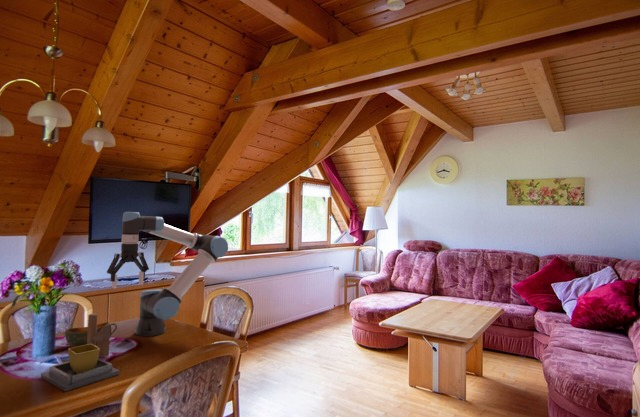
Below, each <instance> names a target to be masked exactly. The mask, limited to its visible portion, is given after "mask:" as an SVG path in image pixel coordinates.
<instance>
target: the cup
mask: <svg viewBox="0 0 640 417" xmlns="http://www.w3.org/2000/svg"><path fill="white" fill-rule="evenodd" d="M109 324H110V337H112V335H113V334H114V333H115V332H116V331H117V328H118V324H117V323H115V322H112V323H110V322H108V321H105V322H102V323H99V324H98V323H97V333H98V332H99V331H100V330H101V329H102V328H103V327H104V326H106V325H109ZM112 326H114V327H115V328H114V329H113V330H112ZM87 334H88V326H85V327H73V328H66V329H65V331H64V337H65V340H66V342H67V344H69V346H70V348H72V347H77V346H82V345H87ZM96 346H97V341H96Z"/></svg>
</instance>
